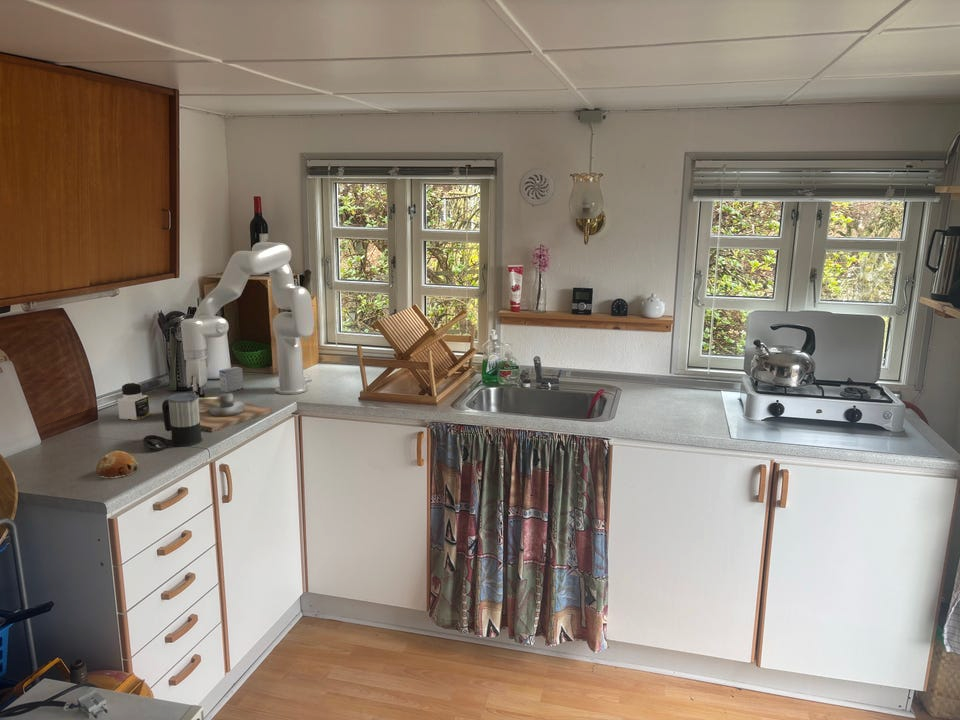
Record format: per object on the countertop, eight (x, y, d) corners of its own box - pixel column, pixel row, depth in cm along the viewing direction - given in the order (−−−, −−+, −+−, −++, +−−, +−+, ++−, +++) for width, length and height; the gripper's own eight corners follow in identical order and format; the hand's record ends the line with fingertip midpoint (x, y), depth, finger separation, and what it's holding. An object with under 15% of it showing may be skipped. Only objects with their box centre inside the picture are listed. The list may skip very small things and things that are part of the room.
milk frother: (208, 438, 232) (204, 393, 229) (178, 455, 217) (173, 407, 214) (169, 435, 235) (165, 391, 232) (137, 451, 220) (131, 404, 217)
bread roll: (124, 477, 209) (111, 452, 209) (149, 466, 206) (136, 440, 205) (97, 490, 200) (84, 464, 200) (123, 478, 197) (109, 452, 196)
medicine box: (237, 387, 296) (235, 366, 294) (244, 388, 294) (242, 367, 292) (220, 391, 290) (218, 370, 288) (227, 392, 288) (225, 371, 286)
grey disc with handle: (248, 405, 262) (246, 389, 261) (241, 415, 251) (240, 398, 249) (190, 408, 260) (188, 391, 258) (181, 417, 248) (179, 400, 247)
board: (229, 404, 271) (229, 399, 271) (271, 412, 260) (271, 407, 260) (168, 422, 250) (168, 417, 249) (211, 431, 238) (211, 426, 238)
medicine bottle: (137, 420, 252) (133, 386, 249) (119, 419, 253) (115, 385, 251) (150, 414, 259) (146, 381, 256) (132, 413, 260) (128, 381, 257)
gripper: (190, 350, 260) (195, 399, 264) (178, 359, 246) (183, 411, 250) (211, 349, 261) (216, 398, 265) (201, 358, 246) (206, 410, 250)
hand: (200, 404), depth 257 cm, fingers closed
